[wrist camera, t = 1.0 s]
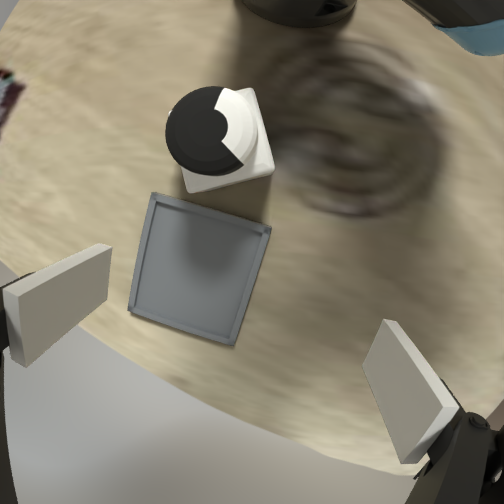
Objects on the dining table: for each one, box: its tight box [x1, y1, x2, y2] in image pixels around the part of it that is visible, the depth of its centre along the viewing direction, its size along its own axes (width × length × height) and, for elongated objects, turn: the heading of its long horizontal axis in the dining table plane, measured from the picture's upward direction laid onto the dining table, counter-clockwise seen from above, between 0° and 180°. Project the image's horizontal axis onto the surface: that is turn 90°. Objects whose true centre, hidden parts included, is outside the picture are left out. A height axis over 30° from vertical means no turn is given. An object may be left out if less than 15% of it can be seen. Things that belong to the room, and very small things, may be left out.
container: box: [165, 86, 275, 193], centre depth 26 cm, size 8×8×13 cm
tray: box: [127, 192, 272, 346], centre depth 35 cm, size 14×14×1 cm
